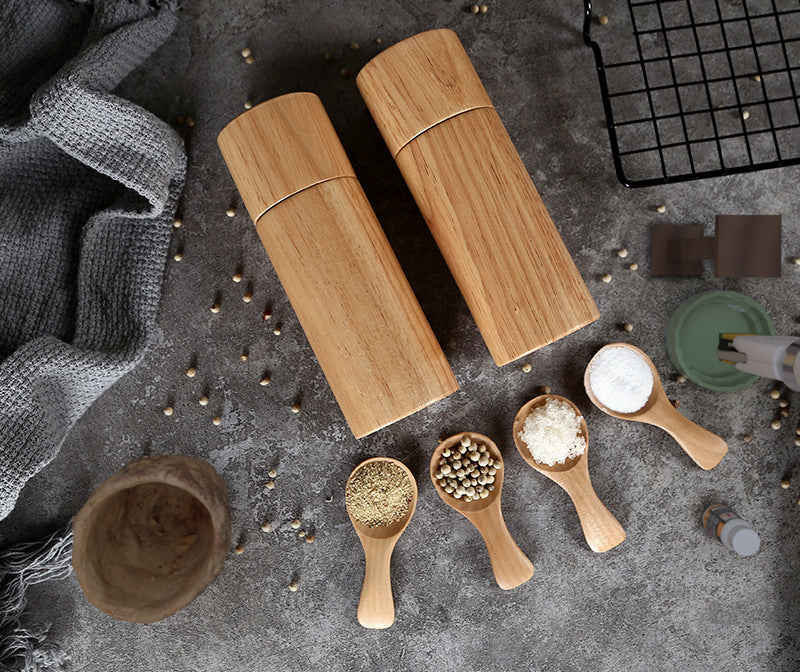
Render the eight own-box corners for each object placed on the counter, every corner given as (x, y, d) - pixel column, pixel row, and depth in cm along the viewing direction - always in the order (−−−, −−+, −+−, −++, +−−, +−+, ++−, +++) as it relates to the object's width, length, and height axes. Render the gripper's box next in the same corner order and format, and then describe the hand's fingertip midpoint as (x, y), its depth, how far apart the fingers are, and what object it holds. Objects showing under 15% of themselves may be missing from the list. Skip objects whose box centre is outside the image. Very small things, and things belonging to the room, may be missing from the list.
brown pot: (261, 547, 117) (223, 624, 92) (139, 554, 117) (68, 632, 92) (254, 425, 117) (214, 468, 92) (132, 431, 117) (59, 476, 92)
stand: (699, 225, 116) (782, 214, 91) (699, 275, 116) (781, 277, 91) (650, 225, 116) (719, 214, 91) (650, 275, 116) (718, 277, 91)
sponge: (746, 332, 103) (772, 337, 96) (746, 360, 103) (771, 367, 96) (718, 332, 103) (742, 337, 96) (718, 360, 103) (742, 367, 96)
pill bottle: (697, 509, 117) (724, 531, 107) (726, 499, 117) (757, 520, 107) (707, 538, 117) (735, 564, 107) (736, 528, 117) (768, 552, 107)
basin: (761, 290, 116) (776, 291, 112) (760, 386, 117) (775, 391, 112) (664, 290, 116) (675, 290, 112) (664, 386, 117) (674, 391, 112)
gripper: (877, 337, 84) (790, 324, 102) (748, 337, 83) (684, 324, 102) (876, 395, 84) (789, 371, 102) (748, 395, 84) (684, 371, 102)
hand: (738, 348), depth 102 cm, fingers closed on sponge, 4 cm apart
